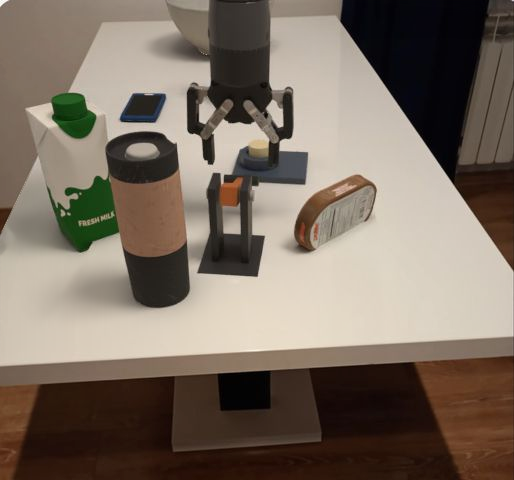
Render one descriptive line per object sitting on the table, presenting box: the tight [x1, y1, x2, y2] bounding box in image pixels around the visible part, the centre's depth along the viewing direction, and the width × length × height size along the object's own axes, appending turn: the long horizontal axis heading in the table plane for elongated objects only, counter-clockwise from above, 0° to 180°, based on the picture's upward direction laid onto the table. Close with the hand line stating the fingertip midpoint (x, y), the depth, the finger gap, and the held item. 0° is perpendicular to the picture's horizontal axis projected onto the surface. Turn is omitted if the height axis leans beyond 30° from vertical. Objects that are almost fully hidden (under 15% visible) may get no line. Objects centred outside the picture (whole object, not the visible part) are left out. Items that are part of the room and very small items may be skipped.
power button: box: [248, 139, 269, 158], centre depth 96 cm, size 4×4×2 cm
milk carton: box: [25, 92, 120, 253], centre depth 78 cm, size 9×9×20 cm
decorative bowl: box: [164, 0, 275, 56], centre depth 146 cm, size 27×27×12 cm
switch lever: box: [220, 173, 260, 208], centre depth 78 cm, size 13×5×2 cm, turn 174°
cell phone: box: [119, 92, 167, 122], centre depth 120 cm, size 7×14×1 cm, turn 178°
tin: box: [293, 174, 378, 252], centre depth 81 cm, size 15×3×8 cm, turn 133°
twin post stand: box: [196, 172, 266, 278], centre depth 76 cm, size 10×8×12 cm
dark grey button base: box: [231, 145, 309, 186], centre depth 97 cm, size 12×10×4 cm
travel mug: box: [105, 130, 191, 309], centre depth 67 cm, size 8×8×20 cm
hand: (241, 164), depth 82 cm, fingers open, 8 cm apart
